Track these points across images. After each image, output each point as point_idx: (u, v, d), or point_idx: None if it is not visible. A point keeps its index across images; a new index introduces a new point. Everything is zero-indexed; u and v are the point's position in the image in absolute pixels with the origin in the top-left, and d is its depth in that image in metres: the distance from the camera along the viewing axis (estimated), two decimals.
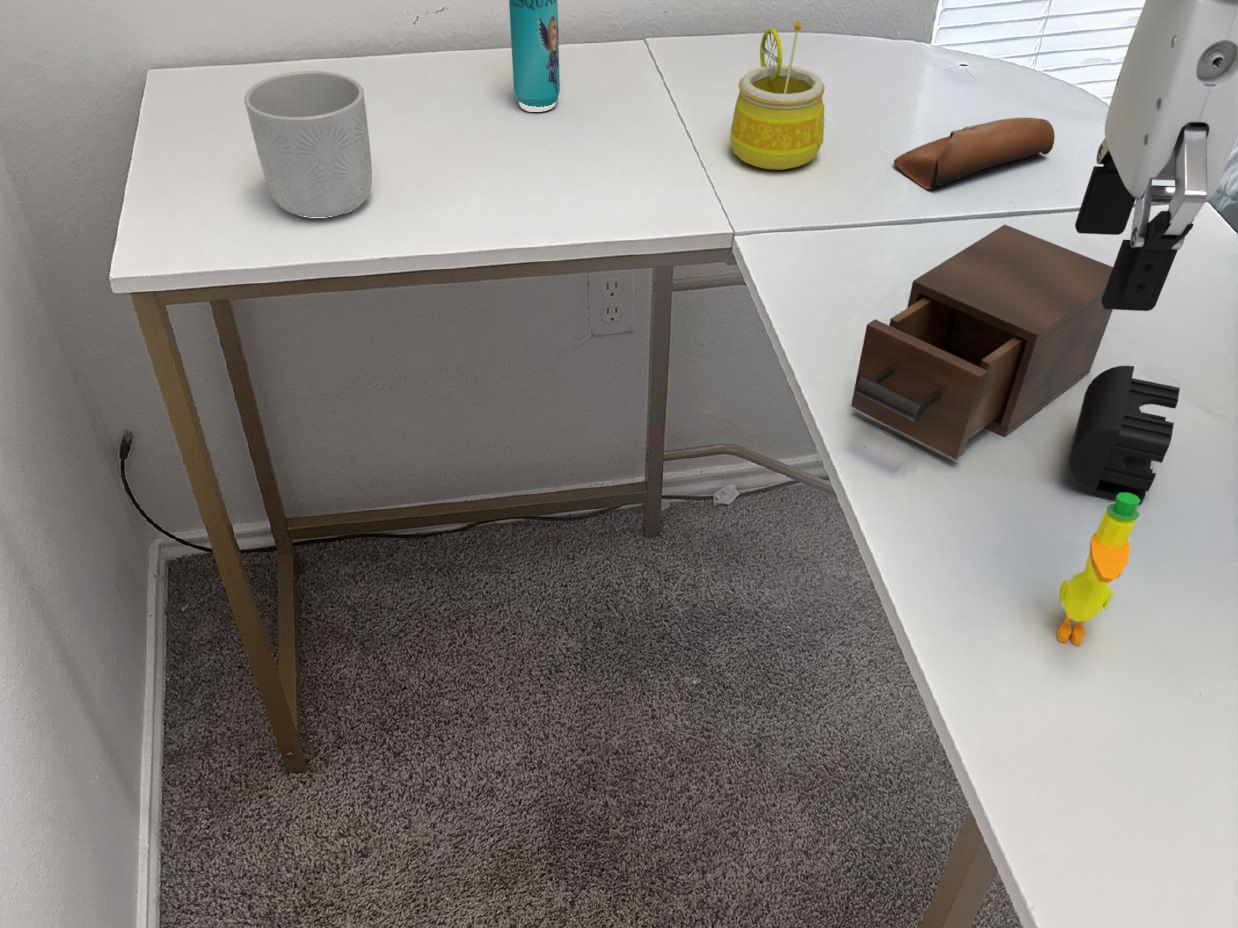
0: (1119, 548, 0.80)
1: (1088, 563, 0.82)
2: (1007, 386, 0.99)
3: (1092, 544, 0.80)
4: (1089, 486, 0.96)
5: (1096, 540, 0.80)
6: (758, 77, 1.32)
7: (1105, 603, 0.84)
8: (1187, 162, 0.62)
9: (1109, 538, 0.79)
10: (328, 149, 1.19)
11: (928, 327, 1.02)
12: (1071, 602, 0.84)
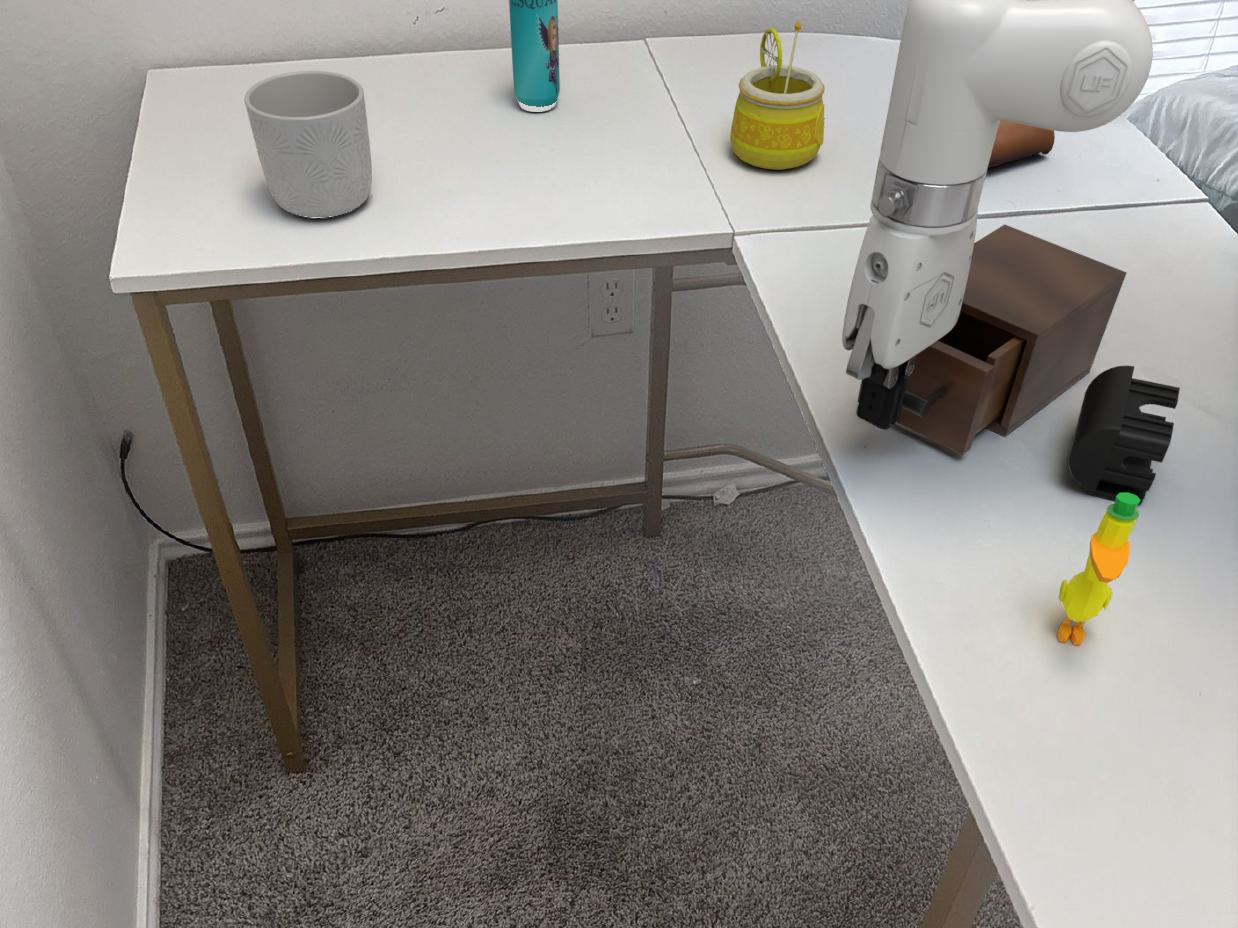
0: (1119, 548, 0.80)
1: (1088, 563, 0.82)
2: (1013, 381, 1.00)
3: (1092, 544, 0.80)
4: (1089, 486, 0.96)
5: (1096, 540, 0.80)
6: (758, 77, 1.32)
7: (1105, 603, 0.84)
8: (854, 347, 0.87)
9: (1109, 538, 0.79)
10: (328, 149, 1.19)
11: None
12: (1071, 602, 0.84)
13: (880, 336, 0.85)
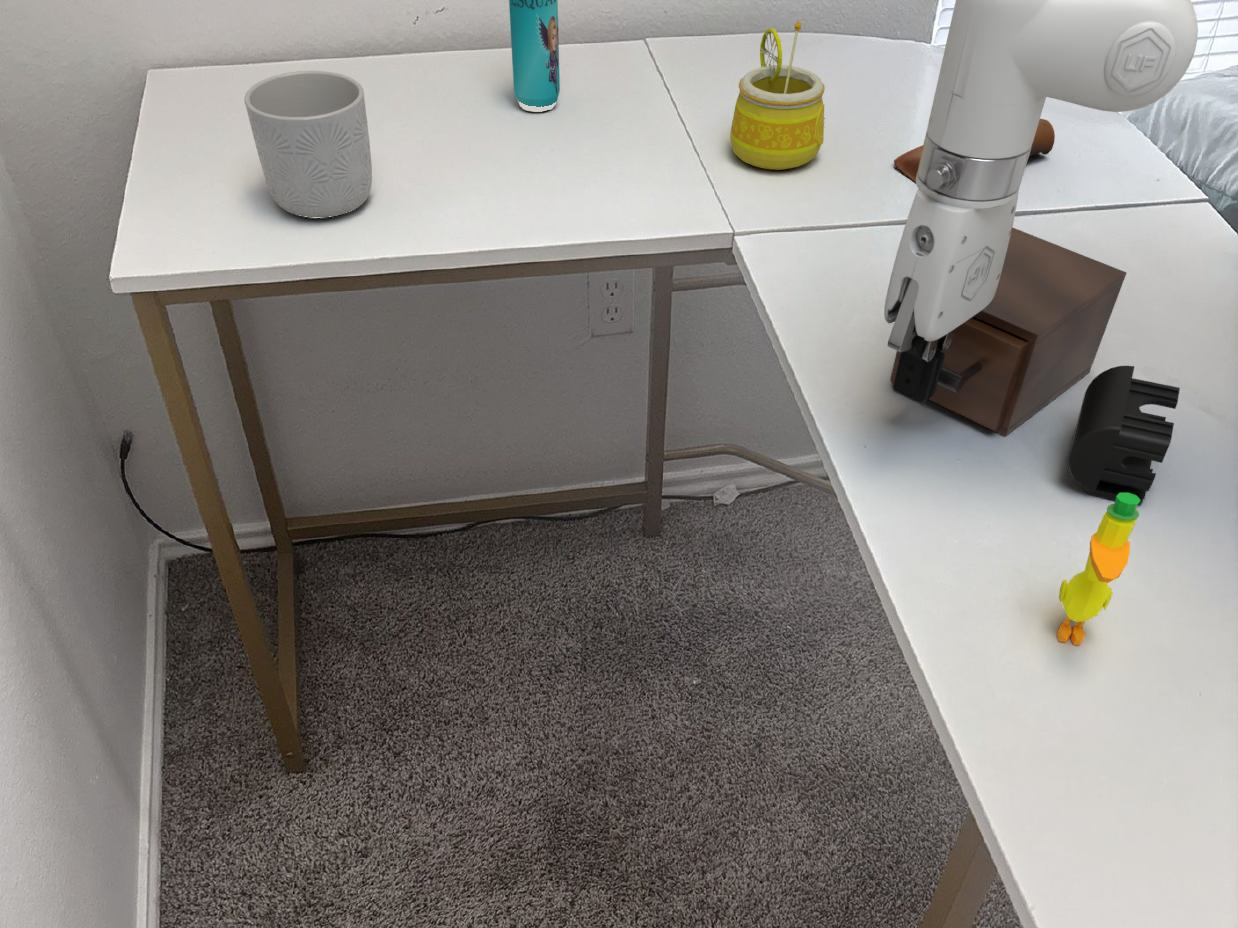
0: (1119, 548, 0.80)
1: (1088, 563, 0.82)
2: None
3: (1092, 544, 0.80)
4: (1089, 486, 0.96)
5: (1096, 540, 0.80)
6: (758, 77, 1.32)
7: (1105, 603, 0.84)
8: (897, 319, 0.89)
9: (1109, 538, 0.79)
10: (328, 149, 1.19)
11: None
12: (1071, 602, 0.84)
13: (923, 308, 0.87)
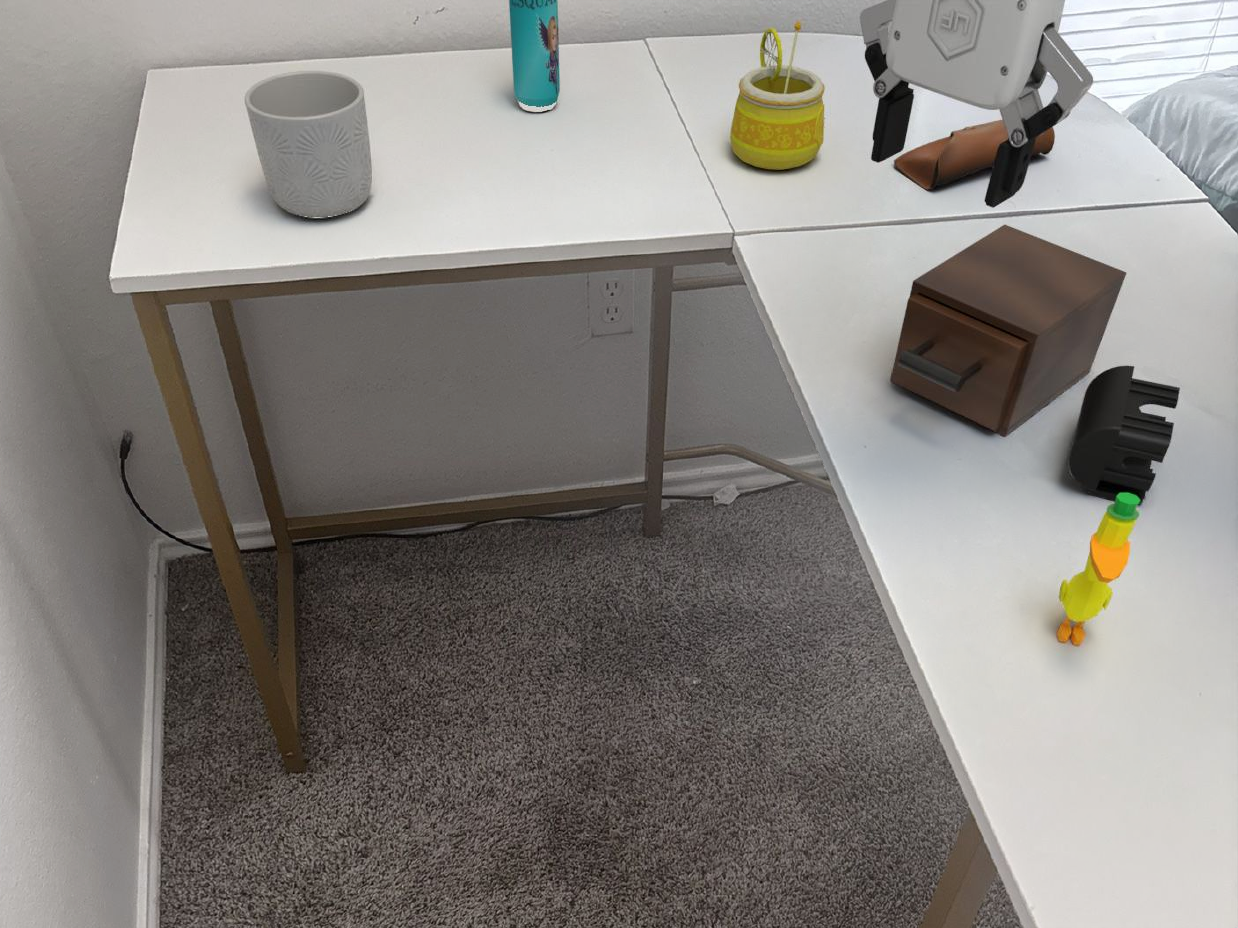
0: (1119, 548, 0.80)
1: (1088, 563, 0.82)
2: None
3: (1092, 544, 0.80)
4: (1089, 486, 0.96)
5: (1096, 540, 0.80)
6: (758, 77, 1.32)
7: (1105, 603, 0.84)
8: None
9: (1109, 538, 0.79)
10: (328, 149, 1.19)
11: None
12: (1071, 602, 0.84)
13: None
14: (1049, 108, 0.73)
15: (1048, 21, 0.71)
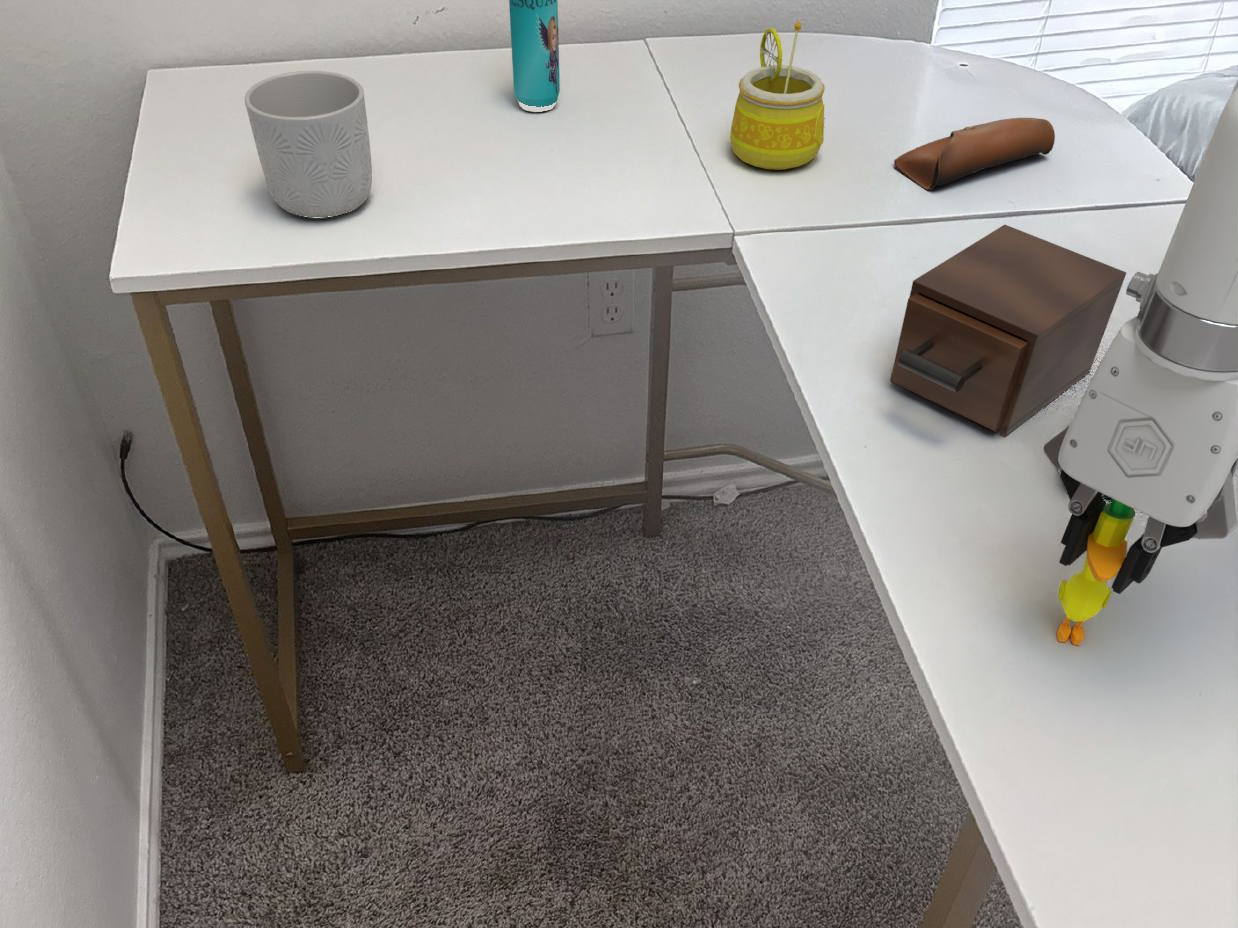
0: (1116, 547, 0.80)
1: (1086, 563, 0.82)
2: None
3: (1089, 543, 0.80)
4: None
5: (1093, 539, 0.80)
6: (758, 77, 1.32)
7: (1104, 603, 0.84)
8: None
9: (1106, 537, 0.79)
10: (328, 149, 1.19)
11: None
12: (1069, 602, 0.84)
13: None
14: (1185, 526, 0.74)
15: None
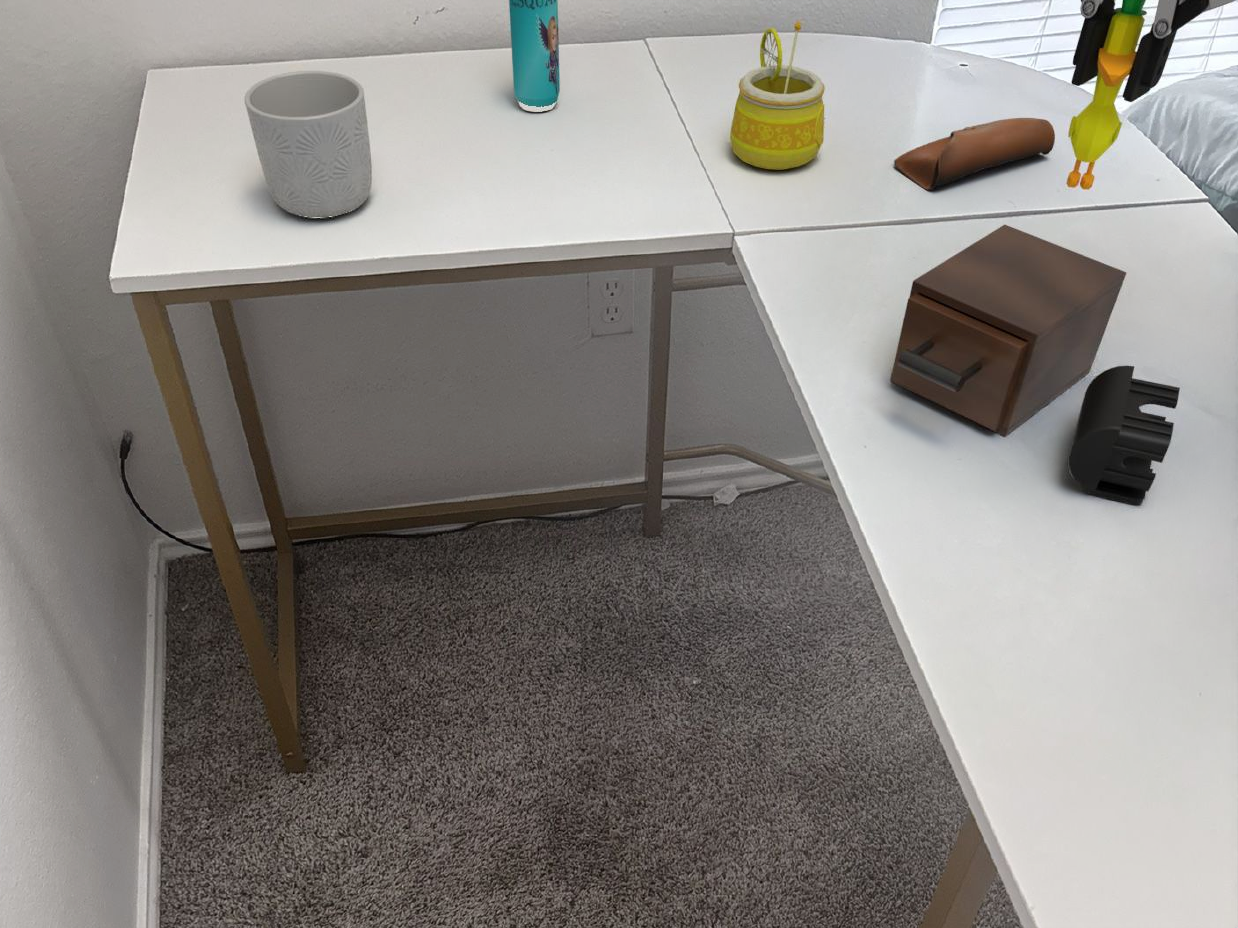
0: (1127, 55, 0.80)
1: (1097, 84, 0.82)
2: None
3: (1100, 53, 0.80)
4: (1089, 486, 0.96)
5: (1104, 51, 0.81)
6: (758, 77, 1.32)
7: (1114, 135, 0.84)
8: None
9: (1117, 42, 0.80)
10: (328, 149, 1.19)
11: None
12: (1079, 134, 0.84)
13: None
14: None
15: None
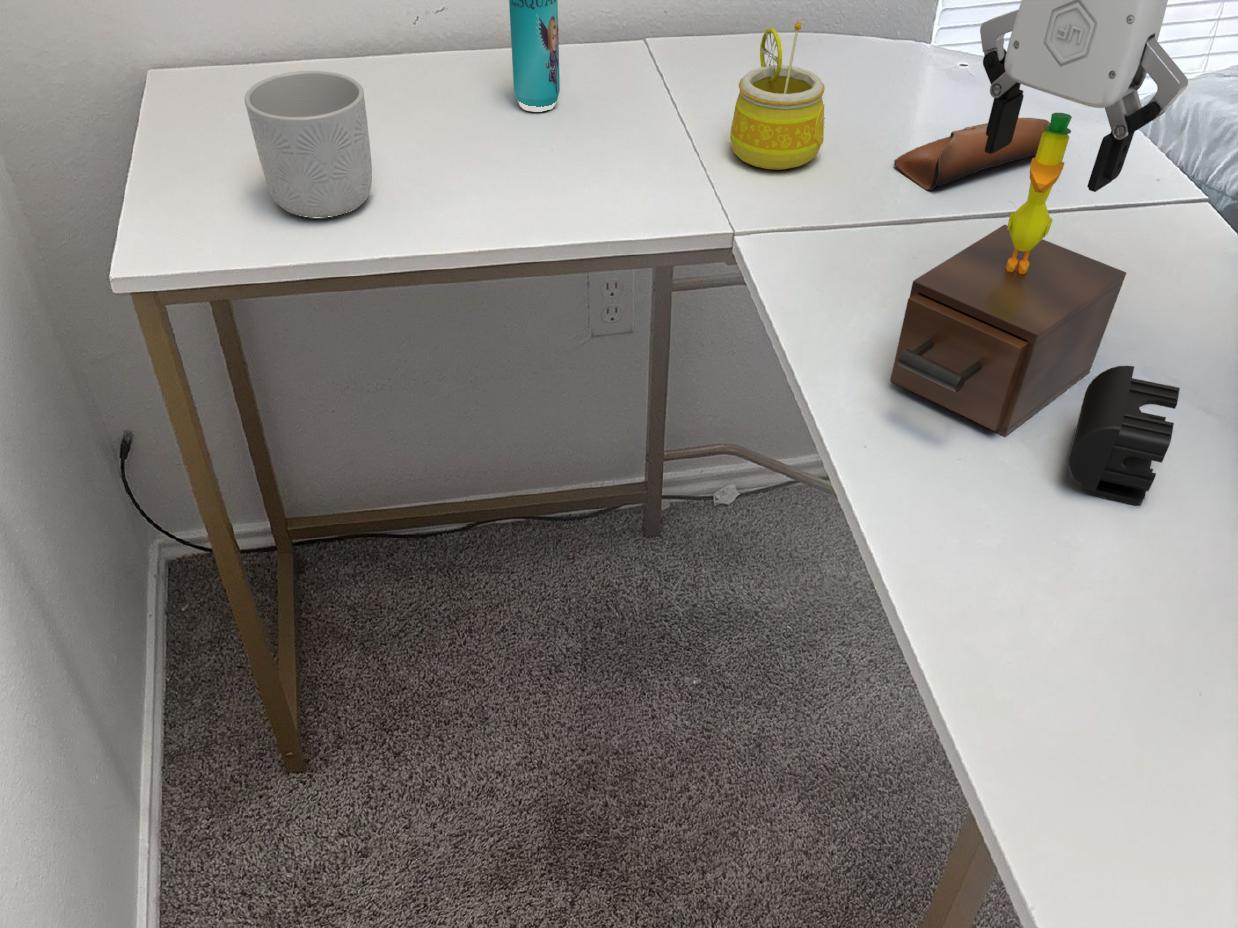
0: (1054, 165, 0.94)
1: (1030, 187, 0.96)
2: None
3: (1032, 162, 0.94)
4: (1089, 486, 0.96)
5: (1036, 160, 0.94)
6: (758, 77, 1.32)
7: (1045, 230, 0.98)
8: (1011, 12, 0.90)
9: (1046, 154, 0.93)
10: (328, 149, 1.19)
11: None
12: (1016, 228, 0.98)
13: None
14: (1149, 106, 0.86)
15: (1151, 33, 0.83)
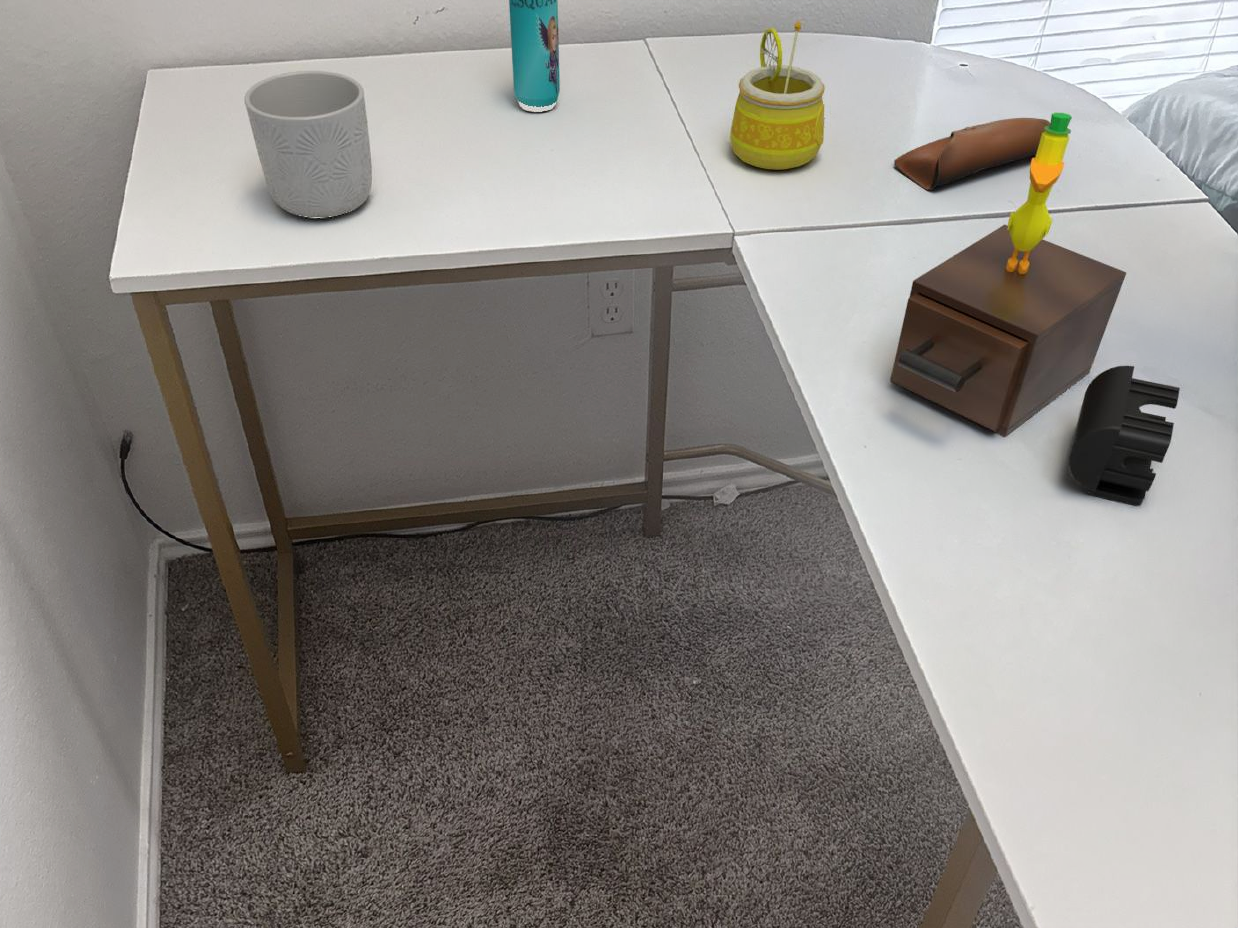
0: (1054, 165, 0.94)
1: (1030, 187, 0.96)
2: None
3: (1032, 162, 0.94)
4: (1089, 486, 0.96)
5: (1036, 160, 0.94)
6: (758, 77, 1.32)
7: (1045, 230, 0.98)
8: None
9: (1046, 154, 0.93)
10: (328, 149, 1.19)
11: None
12: (1016, 228, 0.98)
13: None
14: None
15: None
